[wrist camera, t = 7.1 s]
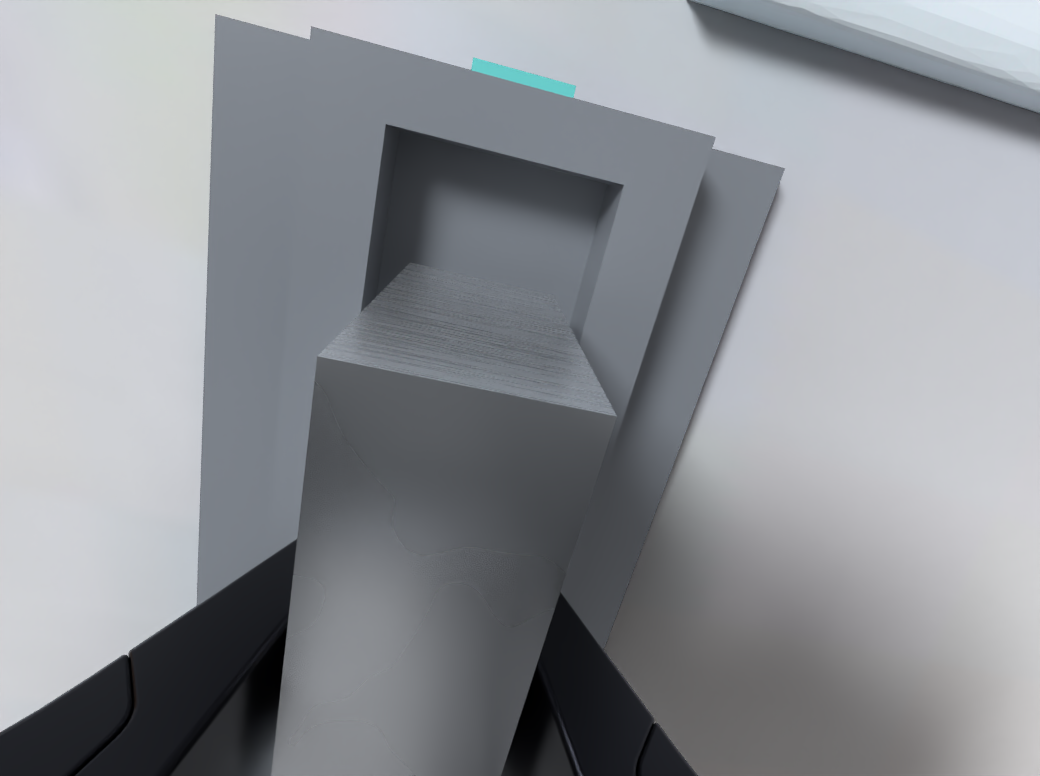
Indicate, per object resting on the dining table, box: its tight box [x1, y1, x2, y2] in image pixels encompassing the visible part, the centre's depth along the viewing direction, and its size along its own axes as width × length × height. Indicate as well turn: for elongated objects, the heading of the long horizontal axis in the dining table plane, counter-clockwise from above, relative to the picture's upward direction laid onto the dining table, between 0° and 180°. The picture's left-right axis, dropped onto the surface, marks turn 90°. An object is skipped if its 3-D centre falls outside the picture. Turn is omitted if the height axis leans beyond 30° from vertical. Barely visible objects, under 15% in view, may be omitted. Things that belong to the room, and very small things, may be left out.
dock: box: [197, 14, 785, 650], centre depth 11 cm, size 14×10×2 cm
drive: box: [271, 263, 617, 776], centre depth 8 cm, size 8×2×5 cm, turn 167°
